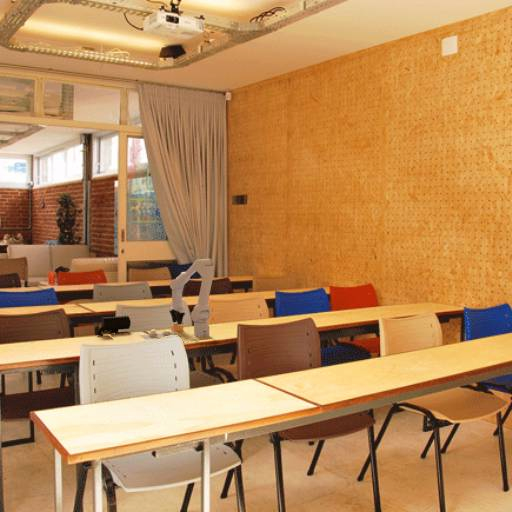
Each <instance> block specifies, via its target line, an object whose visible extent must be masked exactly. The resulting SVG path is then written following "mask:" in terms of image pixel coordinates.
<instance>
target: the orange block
mask: <svg viewBox="0 0 512 512" xmlns="http://www.w3.org/2000/svg"><path fill="white" fill-rule="evenodd" d="M170 331H172V332H174V333H176V332H183V331H184V324H180V325H178V324H177V323H173V324H172V323H171V326H170Z"/></svg>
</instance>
